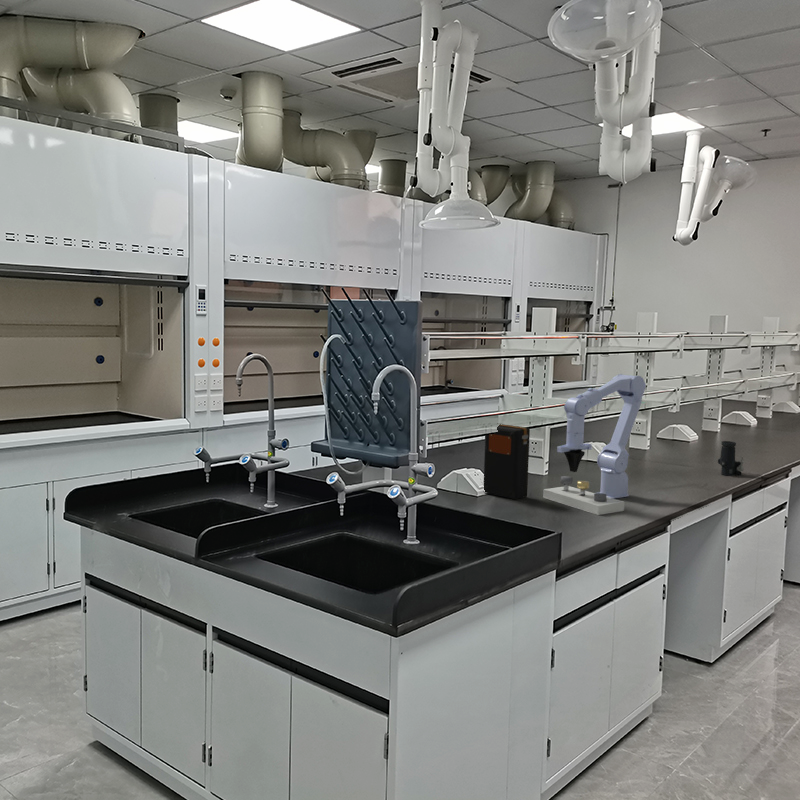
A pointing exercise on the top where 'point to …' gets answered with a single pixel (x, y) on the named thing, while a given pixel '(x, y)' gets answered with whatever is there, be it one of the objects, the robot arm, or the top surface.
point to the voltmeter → (507, 461)
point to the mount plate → (583, 500)
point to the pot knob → (582, 486)
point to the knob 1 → (566, 482)
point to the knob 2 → (600, 497)
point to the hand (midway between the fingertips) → (573, 471)
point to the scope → (729, 460)
